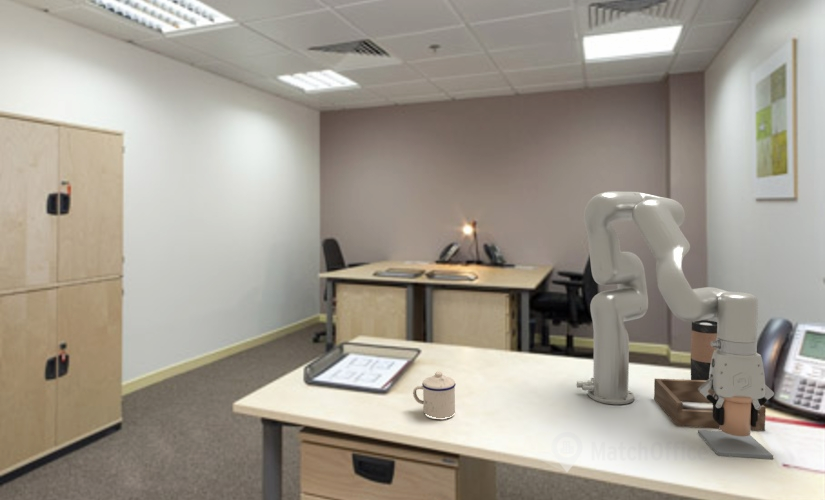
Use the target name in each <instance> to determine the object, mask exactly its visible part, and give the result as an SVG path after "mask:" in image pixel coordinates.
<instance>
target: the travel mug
mask: <svg viewBox="0 0 825 500" xmlns="http://www.w3.org/2000/svg"><path fill="white" fill-rule="evenodd" d="M716 337H717V321H715V320H714V321H713V320H709V319H705V320H701V321H696V322H691V336H690V338H691V339H690V380H708V379H709V372H710V365H711V360H712V356H713V352H714V350H717V349H716V348H715V347H711V341H716Z"/></svg>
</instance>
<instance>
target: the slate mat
mask: <svg viewBox="0 0 825 500" xmlns="http://www.w3.org/2000/svg"><path fill="white" fill-rule="evenodd" d="M697 434H698V435H699V436H700V438H701V439H702V440H703V441H704V442H705V443H706V445H708V446H709V448H711V450H712V451H713V452H714V453H715V454H716V455H717V456H718V457H732V458H735V457H736V458H747V459H748V458H751V459H753V458H754V459H764V460H765V459H767V460H774V454H772V453H771V452H770V451H769V450H768V449H767V448H765V447H764V446H763V445H762V444H761V443H760V442H759V441H758V440H757V439H755V438H754V437H753V436H752V435H751V434H750V435H749V436H734V435H730V434H727V433H725V432H723V431H721V430H720V431H719V430H703V429H697Z"/></svg>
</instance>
